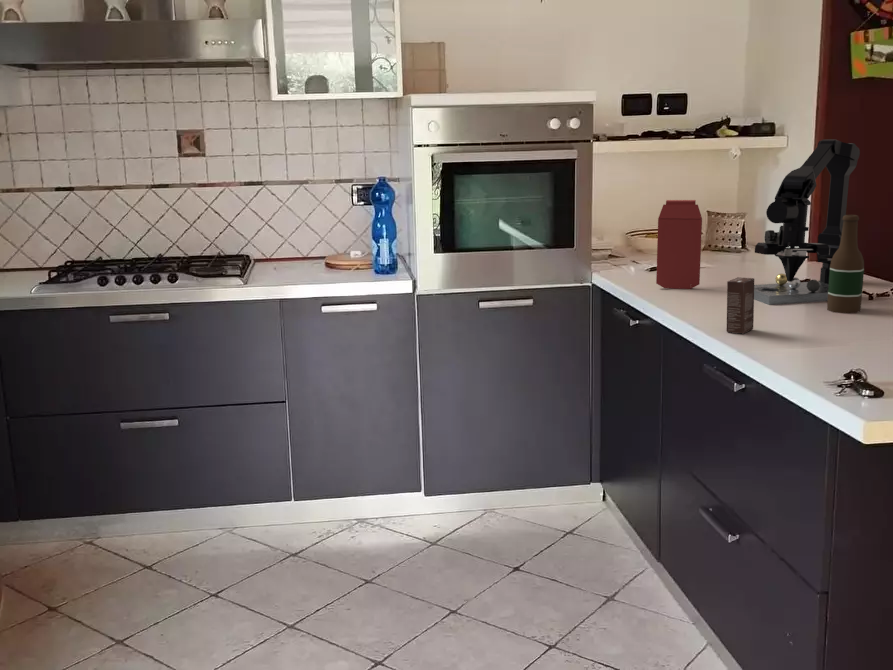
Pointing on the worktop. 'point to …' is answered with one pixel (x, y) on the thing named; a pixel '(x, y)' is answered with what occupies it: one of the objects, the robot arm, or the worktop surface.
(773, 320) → the worktop surface
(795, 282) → the steel ball
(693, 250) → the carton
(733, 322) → the box
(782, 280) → the brass ball
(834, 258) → the beer bottle
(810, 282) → the black ball
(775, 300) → the plate
